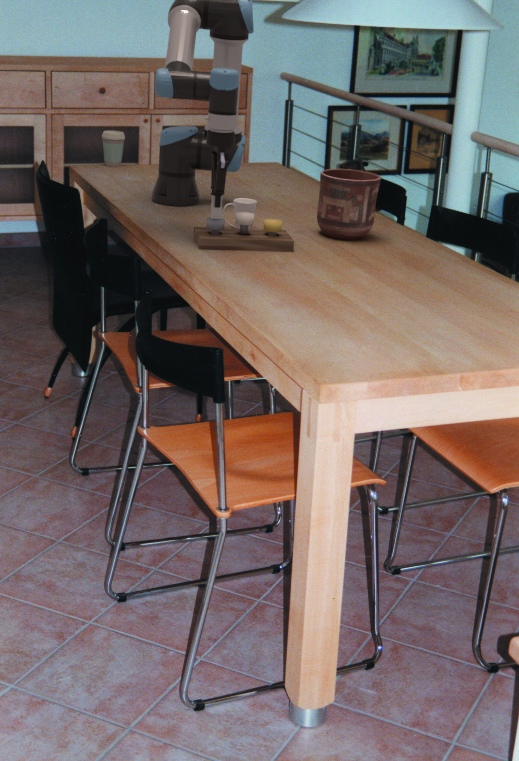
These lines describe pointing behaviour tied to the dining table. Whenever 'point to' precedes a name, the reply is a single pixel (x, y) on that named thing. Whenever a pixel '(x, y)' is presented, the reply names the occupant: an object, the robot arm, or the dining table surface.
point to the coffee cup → (113, 147)
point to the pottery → (347, 203)
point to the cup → (241, 208)
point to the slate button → (215, 225)
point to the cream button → (244, 221)
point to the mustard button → (272, 226)
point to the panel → (243, 240)
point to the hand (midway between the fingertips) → (215, 218)
